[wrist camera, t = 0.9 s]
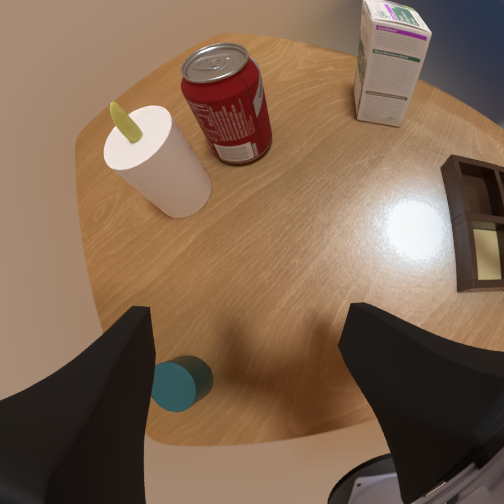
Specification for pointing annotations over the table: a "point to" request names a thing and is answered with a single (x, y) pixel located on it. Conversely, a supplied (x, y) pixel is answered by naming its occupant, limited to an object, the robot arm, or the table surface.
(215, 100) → the soda can
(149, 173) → the candle
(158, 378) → the teal cylinder
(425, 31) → the syrup box
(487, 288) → the grid
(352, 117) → the table surface
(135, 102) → the table surface
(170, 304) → the table surface
